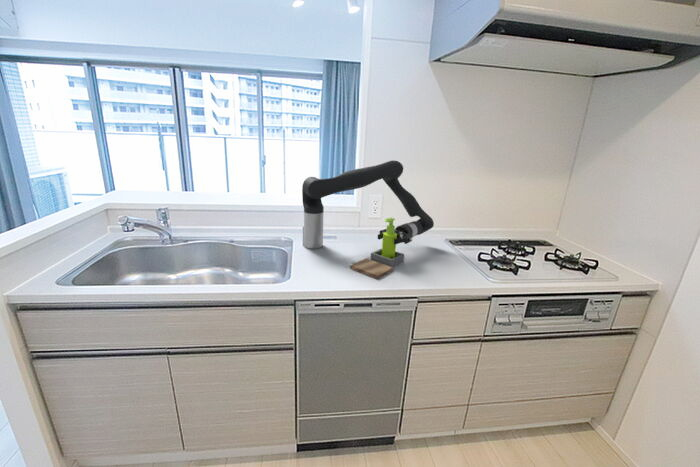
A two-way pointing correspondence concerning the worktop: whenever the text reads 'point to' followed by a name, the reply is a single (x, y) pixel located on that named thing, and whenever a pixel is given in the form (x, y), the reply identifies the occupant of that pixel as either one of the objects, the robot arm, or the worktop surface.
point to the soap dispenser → (389, 240)
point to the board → (371, 268)
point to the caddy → (387, 261)
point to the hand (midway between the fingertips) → (386, 239)
